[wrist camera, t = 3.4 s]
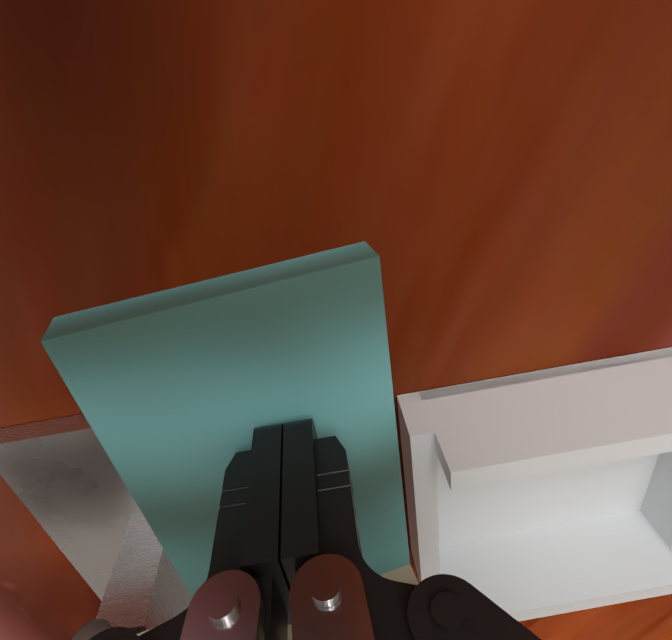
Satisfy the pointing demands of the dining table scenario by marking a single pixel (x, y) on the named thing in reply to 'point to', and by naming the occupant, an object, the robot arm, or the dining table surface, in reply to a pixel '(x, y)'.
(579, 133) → the dining table surface
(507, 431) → the tray
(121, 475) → the lever
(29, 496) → the lever stand
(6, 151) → the dining table surface
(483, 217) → the dining table surface
